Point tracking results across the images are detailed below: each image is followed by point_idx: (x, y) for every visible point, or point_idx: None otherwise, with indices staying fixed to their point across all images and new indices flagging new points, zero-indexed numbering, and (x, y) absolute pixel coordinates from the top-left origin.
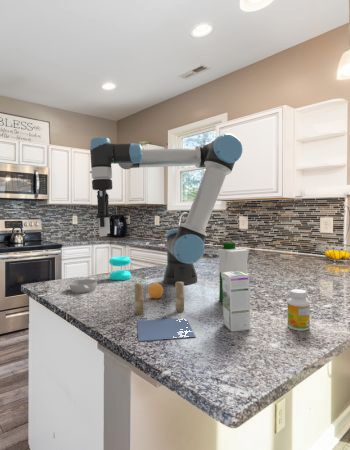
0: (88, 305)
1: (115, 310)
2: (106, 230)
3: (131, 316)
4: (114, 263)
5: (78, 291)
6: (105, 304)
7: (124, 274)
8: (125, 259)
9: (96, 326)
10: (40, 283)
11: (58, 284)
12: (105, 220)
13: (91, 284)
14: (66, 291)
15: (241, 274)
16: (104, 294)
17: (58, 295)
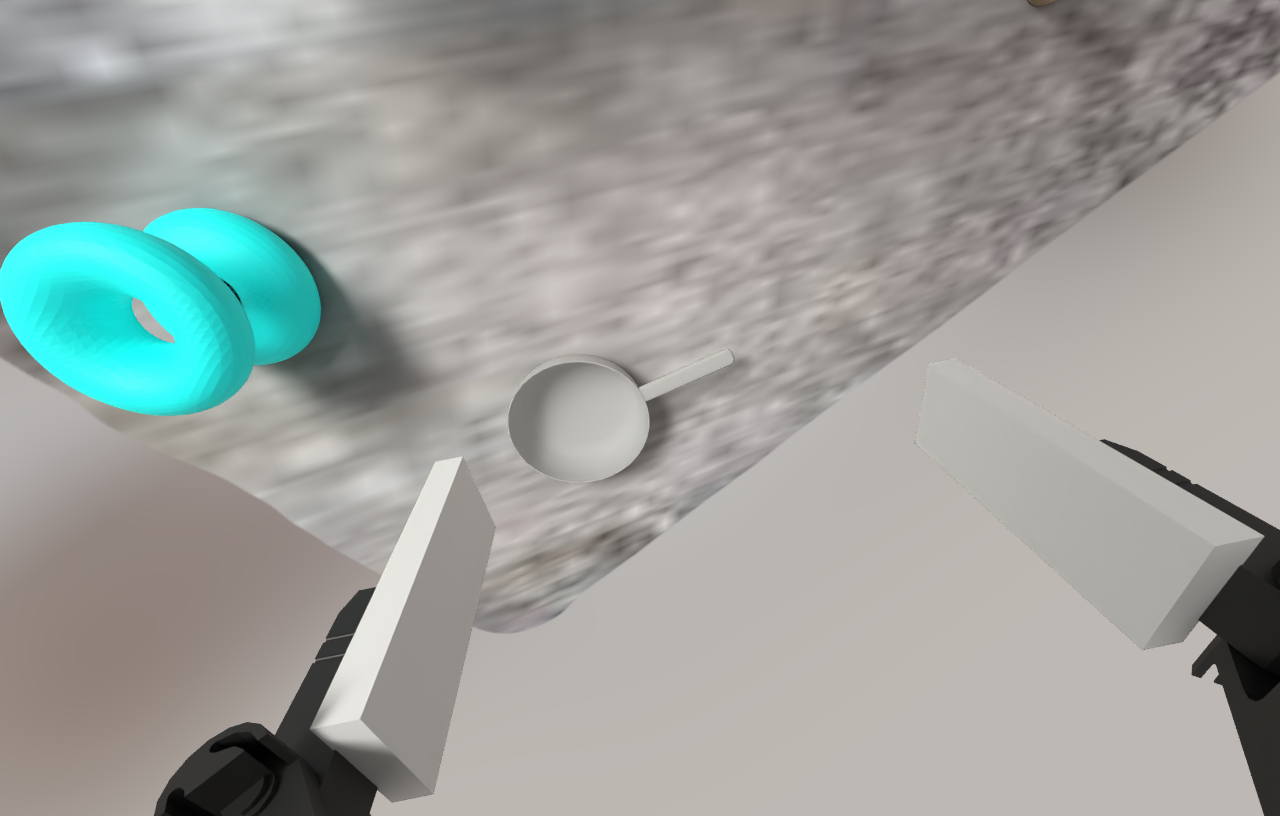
0: (841, 294)
1: (951, 137)
2: (1013, 394)
3: (1070, 21)
4: (254, 348)
5: (637, 410)
6: (843, 217)
7: (261, 250)
8: (154, 264)
9: (1122, 170)
10: None
11: None
12: (1189, 505)
13: (618, 371)
14: None
15: None
16: (661, 276)
17: (670, 469)
